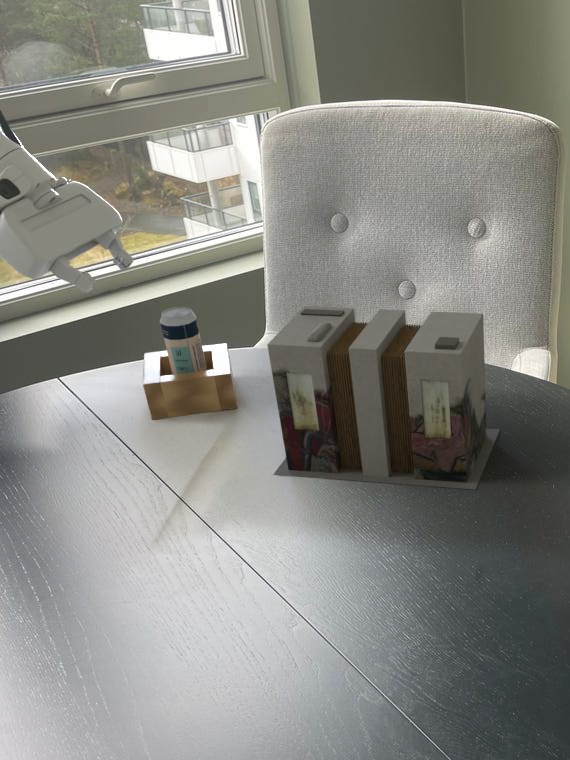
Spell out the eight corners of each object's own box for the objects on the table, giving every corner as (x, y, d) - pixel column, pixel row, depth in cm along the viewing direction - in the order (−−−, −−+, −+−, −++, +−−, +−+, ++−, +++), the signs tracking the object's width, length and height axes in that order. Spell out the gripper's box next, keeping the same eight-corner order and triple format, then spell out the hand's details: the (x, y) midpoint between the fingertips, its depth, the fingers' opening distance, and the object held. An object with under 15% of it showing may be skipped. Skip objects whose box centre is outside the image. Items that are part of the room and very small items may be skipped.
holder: (151, 419, 130) (142, 384, 127) (152, 386, 139) (144, 352, 136) (237, 408, 132) (230, 373, 129) (233, 376, 141) (226, 343, 138)
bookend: (475, 489, 113) (470, 354, 103) (272, 474, 117) (249, 343, 107) (500, 429, 125) (497, 303, 115) (315, 417, 129) (298, 295, 119)
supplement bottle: (206, 387, 138) (188, 303, 131) (217, 398, 135) (199, 313, 127) (173, 395, 136) (153, 310, 129) (183, 407, 133) (163, 320, 126)
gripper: (57, 192, 132) (138, 268, 137) (-38, 233, 117) (57, 319, 121) (77, 157, 129) (160, 237, 133) (-19, 195, 113) (79, 284, 117)
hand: (110, 276), depth 127 cm, fingers open, 8 cm apart
